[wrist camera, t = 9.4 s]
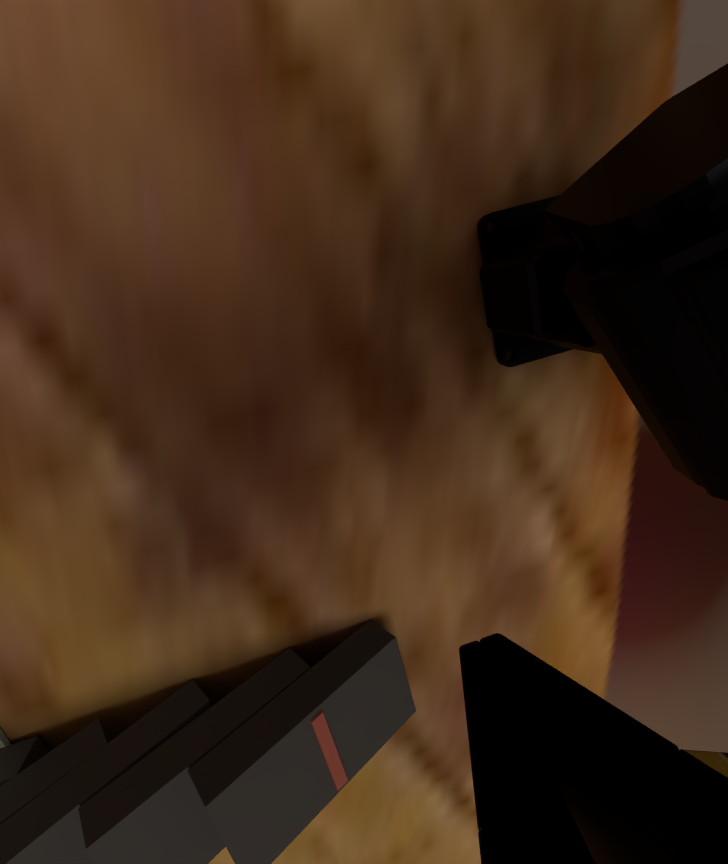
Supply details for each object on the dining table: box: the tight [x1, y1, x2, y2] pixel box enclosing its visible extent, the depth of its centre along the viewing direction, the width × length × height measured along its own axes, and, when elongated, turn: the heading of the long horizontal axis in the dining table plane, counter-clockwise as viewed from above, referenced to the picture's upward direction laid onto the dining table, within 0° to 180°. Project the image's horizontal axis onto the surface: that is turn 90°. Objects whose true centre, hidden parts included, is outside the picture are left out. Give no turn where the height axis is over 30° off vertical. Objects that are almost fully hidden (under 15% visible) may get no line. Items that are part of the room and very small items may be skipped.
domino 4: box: [187, 620, 416, 864], centre depth 21 cm, size 2×5×10 cm
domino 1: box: [0, 718, 111, 825], centre depth 19 cm, size 2×5×10 cm
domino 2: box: [0, 679, 212, 864], centre depth 20 cm, size 2×5×10 cm
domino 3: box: [78, 648, 311, 864], centre depth 21 cm, size 2×5×10 cm
